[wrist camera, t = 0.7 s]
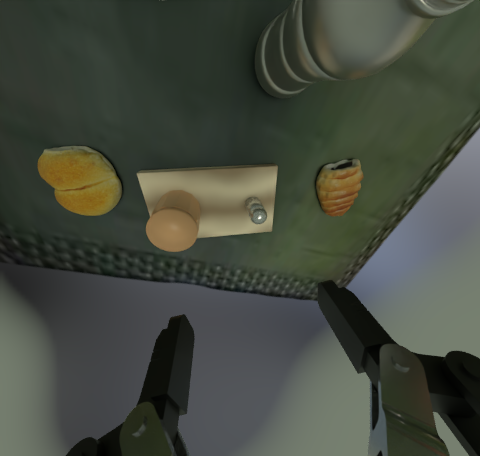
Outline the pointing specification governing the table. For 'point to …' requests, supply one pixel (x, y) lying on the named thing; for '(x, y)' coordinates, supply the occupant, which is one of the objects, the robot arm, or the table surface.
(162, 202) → the cap
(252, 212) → the post
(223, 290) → the table surface
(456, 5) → the plastic bottle
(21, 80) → the table surface
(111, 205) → the bread roll
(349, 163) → the pastry
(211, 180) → the board
